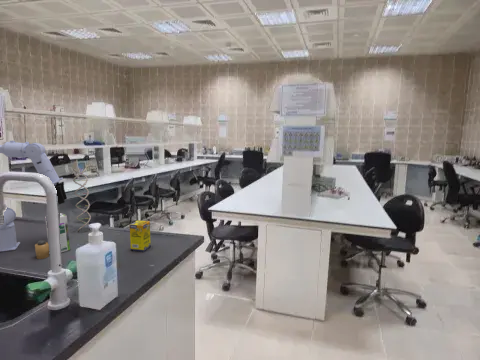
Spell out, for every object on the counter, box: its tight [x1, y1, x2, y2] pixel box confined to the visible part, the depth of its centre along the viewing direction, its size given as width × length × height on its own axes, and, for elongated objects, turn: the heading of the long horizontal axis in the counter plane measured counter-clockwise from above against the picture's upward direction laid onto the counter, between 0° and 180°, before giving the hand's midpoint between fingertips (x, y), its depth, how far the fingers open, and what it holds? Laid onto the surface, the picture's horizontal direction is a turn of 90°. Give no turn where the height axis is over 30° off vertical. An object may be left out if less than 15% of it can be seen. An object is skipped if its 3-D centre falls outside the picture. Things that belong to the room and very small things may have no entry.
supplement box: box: [129, 219, 152, 253], centre depth 126 cm, size 6×6×11 cm
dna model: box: [72, 167, 92, 232], centre depth 144 cm, size 7×6×30 cm
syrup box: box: [44, 212, 71, 253], centre depth 123 cm, size 6×6×14 cm
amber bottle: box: [34, 239, 50, 260], centre depth 118 cm, size 4×4×6 cm
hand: (63, 201), depth 129 cm, fingers open, 7 cm apart
